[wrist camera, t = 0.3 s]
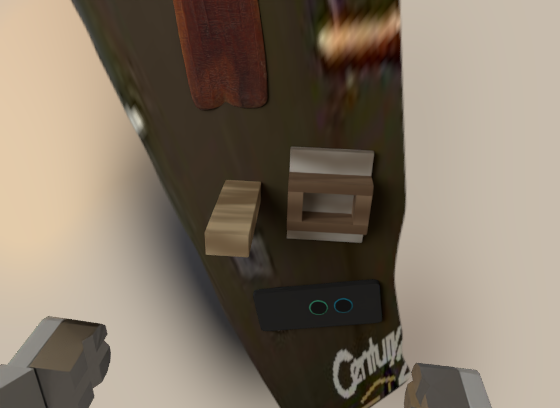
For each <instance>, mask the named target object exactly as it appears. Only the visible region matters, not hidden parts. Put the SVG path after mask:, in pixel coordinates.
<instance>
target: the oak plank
mask: <svg viewBox="0 0 560 408" xmlns="http://www.w3.org/2000/svg"><path fill="white" fill-rule="evenodd" d="M260 202H261V182H254V181H236V180H226V181H225V183H224V186H223V188H222V191H221V193H220V196H219V198H218V201H217V203H216V206H215V208H214V211H213V213H212V216H211V218H210V221H209V223H208V226H207V228H206V231H205V246H206V255H222V256H238V257H249V253H250V248H251V244H252V239H253V234H254V230H255V225H256V221H257V216H258V211H259V207H260Z"/></svg>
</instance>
